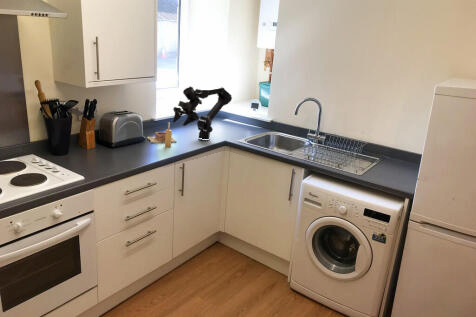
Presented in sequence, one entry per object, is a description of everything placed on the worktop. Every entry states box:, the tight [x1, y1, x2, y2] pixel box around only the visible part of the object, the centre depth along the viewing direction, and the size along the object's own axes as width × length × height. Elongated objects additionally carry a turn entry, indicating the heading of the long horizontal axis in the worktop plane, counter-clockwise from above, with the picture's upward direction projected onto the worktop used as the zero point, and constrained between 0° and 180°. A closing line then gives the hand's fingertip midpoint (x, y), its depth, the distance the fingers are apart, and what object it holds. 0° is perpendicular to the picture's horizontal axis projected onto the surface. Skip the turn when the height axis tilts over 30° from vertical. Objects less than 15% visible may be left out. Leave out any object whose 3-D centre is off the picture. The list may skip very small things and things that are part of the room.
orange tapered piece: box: [164, 122, 173, 148], centre depth 244 cm, size 4×4×15 cm
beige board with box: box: [147, 131, 177, 144], centre depth 258 cm, size 16×12×4 cm
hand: (178, 123), depth 248 cm, fingers open, 9 cm apart
